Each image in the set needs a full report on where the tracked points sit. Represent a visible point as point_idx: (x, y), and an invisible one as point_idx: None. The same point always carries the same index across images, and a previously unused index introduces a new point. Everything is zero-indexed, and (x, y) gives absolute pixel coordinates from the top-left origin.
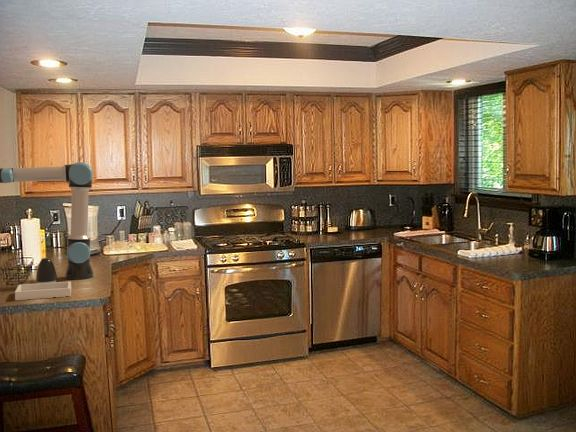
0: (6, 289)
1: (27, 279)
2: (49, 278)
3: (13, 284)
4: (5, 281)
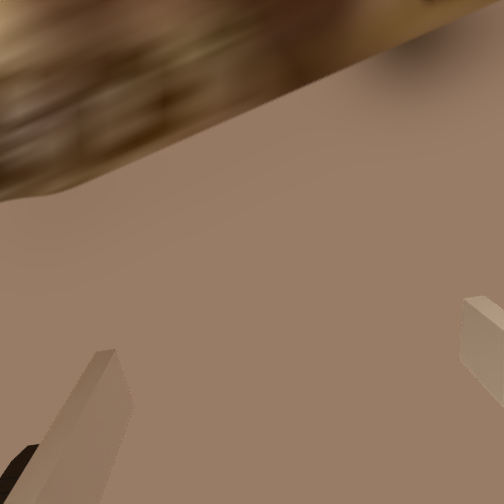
0: (303, 76)
1: (19, 69)
2: None
3: (168, 94)
4: (87, 176)
